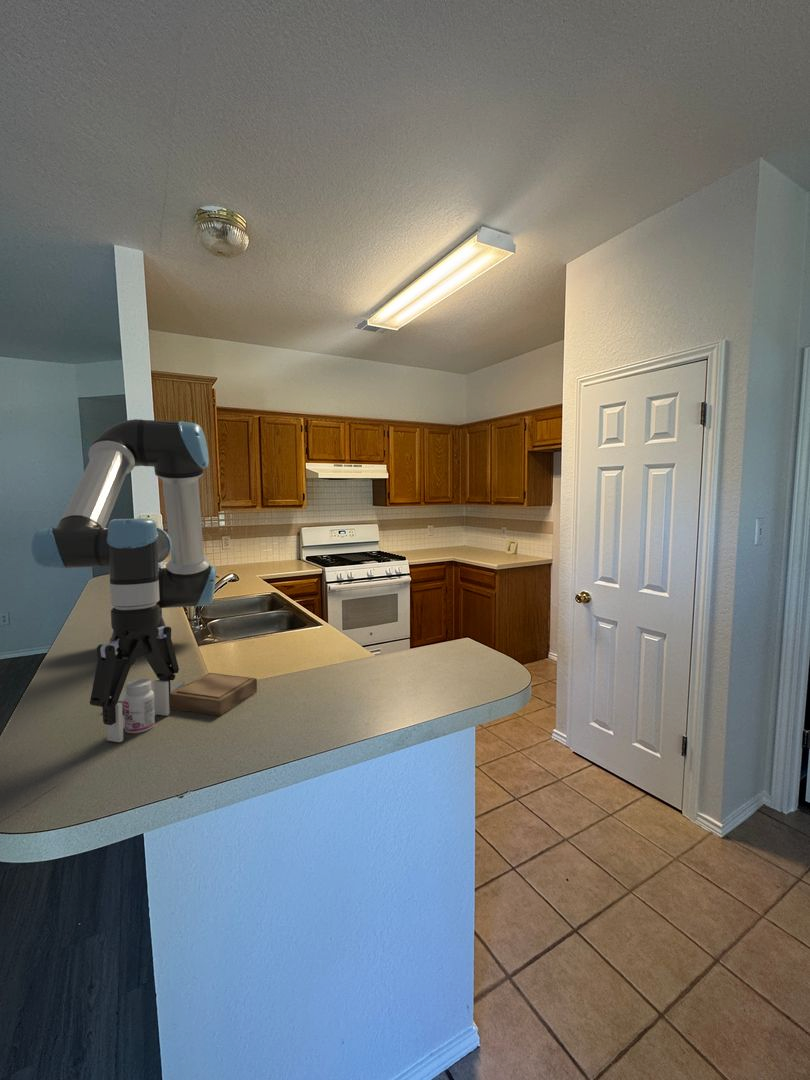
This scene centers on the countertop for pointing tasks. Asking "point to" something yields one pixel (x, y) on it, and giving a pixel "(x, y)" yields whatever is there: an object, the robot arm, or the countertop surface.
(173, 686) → the slate tile
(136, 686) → the pill bottle
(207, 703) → the walnut stand
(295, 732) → the countertop surface
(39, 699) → the countertop surface
